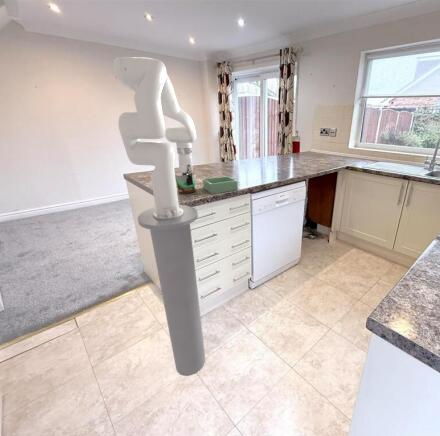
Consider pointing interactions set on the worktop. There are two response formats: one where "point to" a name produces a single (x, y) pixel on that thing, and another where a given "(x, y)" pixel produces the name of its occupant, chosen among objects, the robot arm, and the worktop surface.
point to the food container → (185, 184)
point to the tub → (220, 184)
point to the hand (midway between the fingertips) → (187, 183)
